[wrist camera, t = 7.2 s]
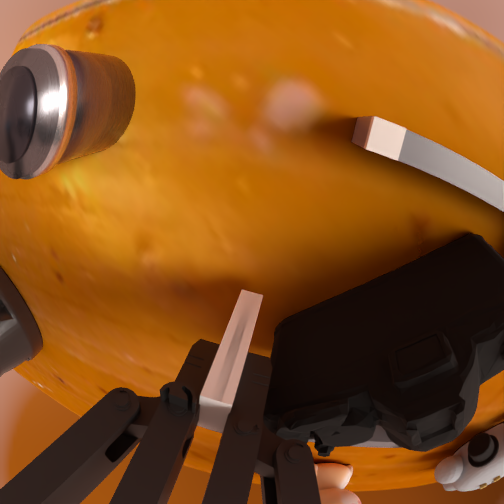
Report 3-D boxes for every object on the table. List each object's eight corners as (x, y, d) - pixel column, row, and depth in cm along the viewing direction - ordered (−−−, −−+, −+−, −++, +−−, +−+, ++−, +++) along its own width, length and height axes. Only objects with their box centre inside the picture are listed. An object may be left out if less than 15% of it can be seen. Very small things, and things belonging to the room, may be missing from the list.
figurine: (532, 424, 19) (526, 377, 17) (542, 460, 11) (546, 427, 9) (451, 471, 26) (415, 444, 25) (453, 508, 19) (417, 497, 17)
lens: (59, 151, 14) (-16, 179, 9) (68, 59, 11) (-11, 60, 6) (132, 160, 14) (45, 194, 8) (147, 47, 11) (59, 27, 5)
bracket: (259, 401, 21) (251, 434, 18) (357, 117, 11) (374, 116, 8) (401, 421, 20) (404, 450, 17) (542, 214, 9) (573, 237, 6)
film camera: (321, 398, 19) (310, 501, 12) (257, 316, 17) (215, 452, 9) (497, 326, 13) (542, 421, 6) (489, 210, 11) (593, 306, 3)
